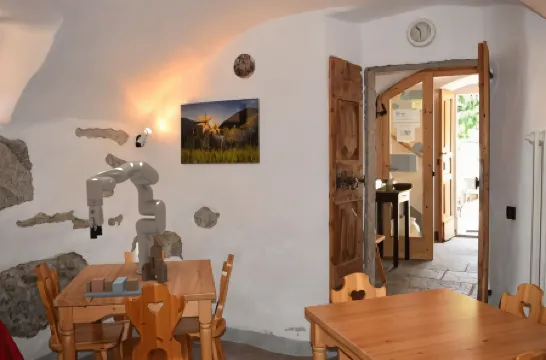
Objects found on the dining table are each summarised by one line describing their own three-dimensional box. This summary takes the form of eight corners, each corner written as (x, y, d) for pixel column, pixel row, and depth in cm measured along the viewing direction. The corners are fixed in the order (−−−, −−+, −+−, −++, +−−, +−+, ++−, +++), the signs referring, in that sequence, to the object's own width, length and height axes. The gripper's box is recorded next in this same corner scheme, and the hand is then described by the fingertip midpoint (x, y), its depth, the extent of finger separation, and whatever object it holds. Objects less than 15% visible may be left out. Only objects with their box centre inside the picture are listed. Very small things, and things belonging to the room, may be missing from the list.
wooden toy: (141, 280, 287) (139, 235, 285) (150, 277, 292) (148, 233, 291) (160, 284, 278) (159, 237, 277) (170, 281, 284) (168, 235, 282)
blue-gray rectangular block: (119, 286, 270) (118, 277, 269) (127, 286, 270) (127, 276, 270) (112, 293, 257) (112, 283, 256) (122, 293, 257) (121, 283, 257)
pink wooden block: (94, 289, 265) (93, 278, 264) (105, 289, 265) (105, 277, 265) (91, 292, 260) (91, 280, 260) (103, 291, 261) (102, 279, 260)
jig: (92, 289, 270) (92, 277, 270) (145, 287, 272) (145, 275, 272) (83, 298, 254) (82, 285, 254) (139, 295, 256) (139, 283, 256)
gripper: (98, 204, 252) (99, 239, 253) (107, 201, 269) (108, 234, 270) (82, 204, 251) (83, 240, 252) (92, 201, 268) (93, 234, 269)
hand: (96, 237), depth 261 cm, fingers open, 9 cm apart
